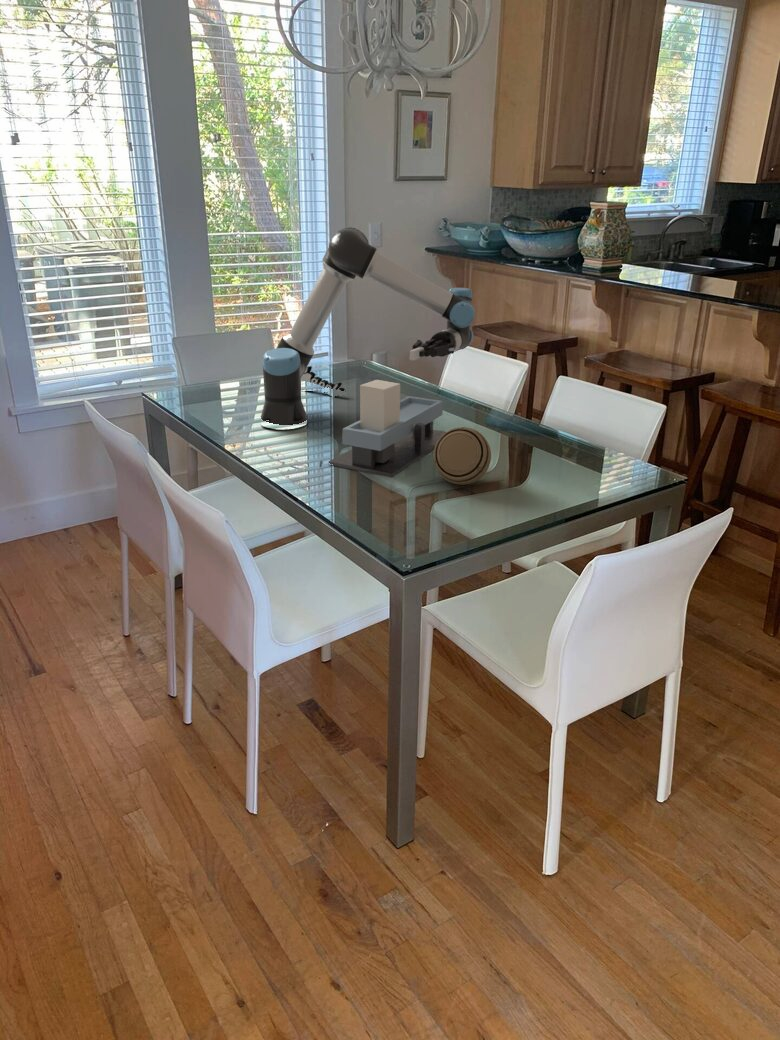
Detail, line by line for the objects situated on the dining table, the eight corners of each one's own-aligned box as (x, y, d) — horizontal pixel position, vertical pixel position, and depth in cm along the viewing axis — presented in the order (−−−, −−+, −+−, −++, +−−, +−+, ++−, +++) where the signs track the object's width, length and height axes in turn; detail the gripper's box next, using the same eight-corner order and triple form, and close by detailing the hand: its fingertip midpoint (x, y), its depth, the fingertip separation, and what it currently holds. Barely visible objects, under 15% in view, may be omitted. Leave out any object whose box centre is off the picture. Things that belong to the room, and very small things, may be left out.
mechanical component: (423, 477, 212) (424, 423, 206) (471, 470, 218) (474, 417, 212) (449, 496, 200) (451, 439, 194) (499, 488, 206) (503, 433, 199)
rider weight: (376, 420, 228) (376, 379, 223) (399, 425, 224) (400, 383, 219) (360, 427, 221) (360, 385, 217) (383, 432, 217) (384, 389, 213)
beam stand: (397, 426, 255) (398, 399, 251) (454, 436, 246) (455, 408, 243) (328, 464, 221) (327, 433, 217) (391, 477, 212) (392, 445, 208)
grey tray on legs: (406, 424, 252) (406, 395, 248) (443, 430, 246) (444, 401, 242) (341, 460, 219) (340, 428, 216) (382, 468, 214) (382, 435, 210)
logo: (295, 388, 296) (298, 363, 291) (299, 387, 298) (302, 362, 293) (339, 409, 287) (343, 383, 282) (343, 407, 289) (347, 382, 284)
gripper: (463, 357, 248) (431, 371, 228) (426, 352, 253) (391, 365, 234) (465, 333, 244) (432, 345, 225) (427, 328, 250) (392, 339, 231)
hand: (411, 355), depth 230 cm, fingers closed
